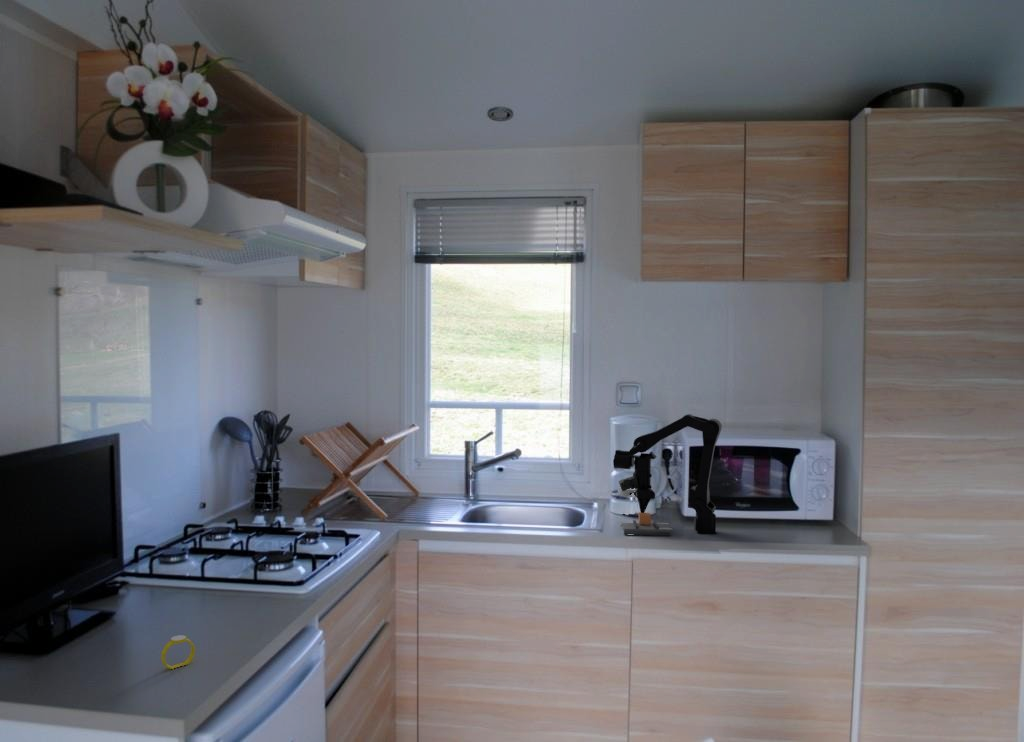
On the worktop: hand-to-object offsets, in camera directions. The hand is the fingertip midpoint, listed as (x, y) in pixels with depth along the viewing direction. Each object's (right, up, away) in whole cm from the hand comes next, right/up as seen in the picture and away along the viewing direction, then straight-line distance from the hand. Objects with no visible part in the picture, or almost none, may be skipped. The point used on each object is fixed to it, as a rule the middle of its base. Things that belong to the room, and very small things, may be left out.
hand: (642, 513), depth 252 cm
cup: (-2, -4, +17) cm, 18 cm away
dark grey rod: (-1, -5, -14) cm, 15 cm away
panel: (-1, -5, -9) cm, 10 cm away
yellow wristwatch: (-114, -8, -113) cm, 161 cm away
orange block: (0, -2, -7) cm, 7 cm away
